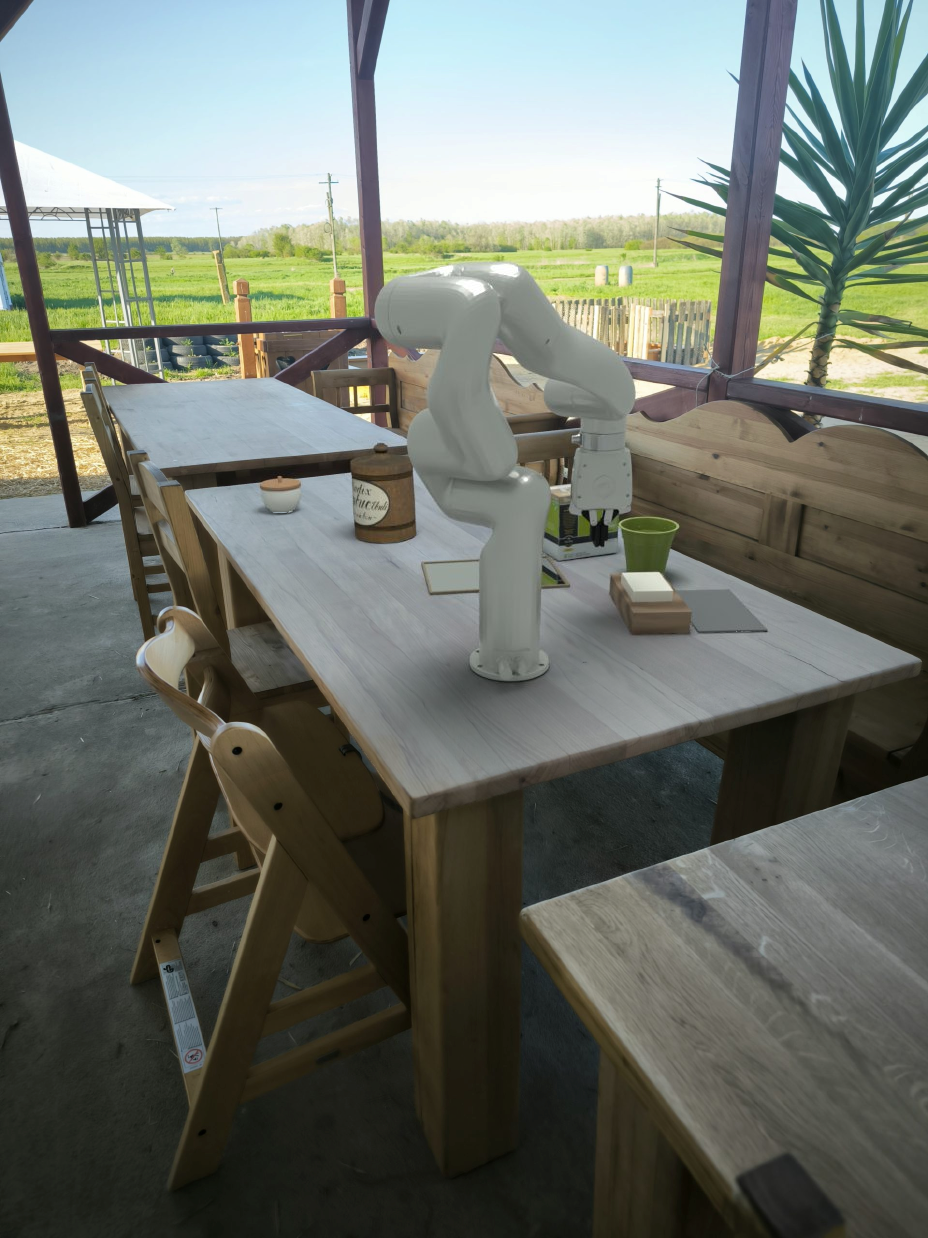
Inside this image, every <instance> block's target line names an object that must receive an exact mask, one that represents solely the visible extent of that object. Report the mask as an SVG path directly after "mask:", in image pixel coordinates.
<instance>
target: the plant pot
mask: <svg viewBox="0 0 928 1238" xmlns="http://www.w3.org/2000/svg"><path fill="white" fill-rule="evenodd" d="M618 528H620V531H621V538H622V541H623V547H624V557H625V565H626V566H625V567H626V573H633V572H659V573H662V574H663V575H664V576H665V572H666V567H667V565H668V564H667V563H668V561H669V560H668V559H669V556H670V551H671V548H672V544H673V543H672V542H673V541H674V539H675V535H676V532H677V531H678V529H679V528H680V525H679V523H677V522H676V521H674V520H671V519H668V518H663V517H658V516H657V517H656V516H636V517H629V518H626V519H625V518H624V519H623V520H621V521H620V520H619V524H618Z"/></svg>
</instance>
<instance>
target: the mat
mask: <svg viewBox="0 0 928 1238" xmlns="http://www.w3.org/2000/svg"><path fill="white" fill-rule="evenodd" d="M675 591H676V592H677V593H678V594H679V596H680V597H681V598H682V600H683V601H684V602H685V603H686V605H687V606H688V607H689V609H690V610H691V611H692V615H691V623H692V624H693V625H692V624H691V625H692V627H693V626H694V627H695V628H694V627H693V628H694V630H695V631H696V630H697V631H696V632H697V634H710V633H709V632H730V633H742V632H741V631H767V632H768V628H767V627H766V626H765V625H764V624H763V623H762V622H761V621H760V620H759V619H758V618H757V617H756V616H755V615H754V614H753V613H752V612H751V611H750V610H749V608H747V606H746V605H745V604H744V602H742V601H741V600H740V599H739V598H738V597H737V596H736V595H735V594H734V593H733V591H732V590H730V589H729V588H728V589H686V590H685V589H681V590H678V589H677V590H676V589H675ZM736 631H737V632H736ZM705 632H706V633H705ZM707 632H708V633H707Z"/></svg>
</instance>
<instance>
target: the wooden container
mask: <svg viewBox="0 0 928 1238" xmlns="http://www.w3.org/2000/svg"><path fill="white" fill-rule="evenodd" d="M372 448H373V452H374V453H373V454H371V455H364V456H359V457H355V458H352V459H351V460H350V465H349V466H350V474H351V490H352V510H353V511H352V513H353V524H354V525H353V526H354V536H355V538H356V539H357V540H359V541H362V542H366V543H371V544H393V543H398V542H399V543H401V542H405V541H407V540H410V539H412V538H414V537H415V536H416V534H417V521H416V520H417V519H416V495H415V482H414V468H413V466H412V464H411V461H410V458H409V455H402V454H390V453H389V452H388V451H389V446H388V445H387V444H386V443H384V442H377V443H376V444H375V445H374V446H373V447H372Z"/></svg>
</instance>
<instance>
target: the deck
mask: <svg viewBox="0 0 928 1238" xmlns="http://www.w3.org/2000/svg"><path fill="white" fill-rule="evenodd" d="M660 574H661V575H662V576H663V578H664V579H665V580H666V582H667V583H668V584H669V586H670V587H671V588H672V590H673V600H672V601H666V602H632V600H631V598H630V597H629V595H628V593H627V592H626V590H625V589H624V587H623V585H622V584H621V576H622V573H610V577H609V592H608V595H609V596H610V598H611V599H612V601H613V603H614V605H615V606H616V609H617V610H618V612H619V614H620V615H621V618H622V620H623V621H624V623H625V625H626V626H627V628H628V629H629V632H630V633H631V635H667V633H668V634H669V633H670V634H671V633H680V634H690V632H691V625H692V624H691V615H692V611H691V610H690V609H689V607H688V606H687V605H686V603H685V602H684V601H683V600H682V598H681V597H680V596H679V594H678V593H677V592H676V591H675V590H676V589H675V588H674V586H672V583H670V581H669V580H668V579H667V578H666V576H665V574H664V575H663V574H662V573H660ZM660 633H661V634H660ZM662 633H663V634H662ZM670 634H669V635H670ZM671 635H672V634H671Z"/></svg>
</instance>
